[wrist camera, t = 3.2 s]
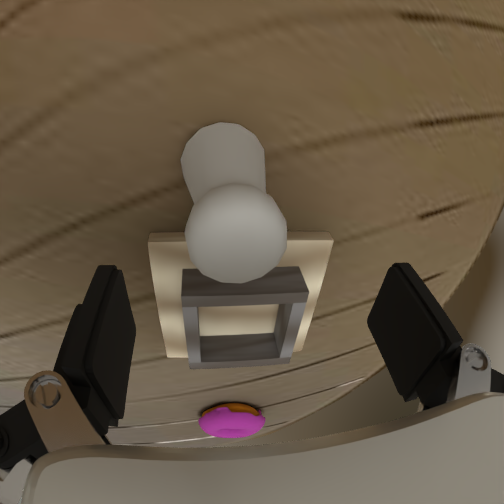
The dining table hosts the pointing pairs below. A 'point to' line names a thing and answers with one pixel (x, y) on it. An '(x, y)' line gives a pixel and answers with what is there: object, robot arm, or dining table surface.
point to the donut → (231, 420)
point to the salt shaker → (231, 206)
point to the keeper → (237, 304)
